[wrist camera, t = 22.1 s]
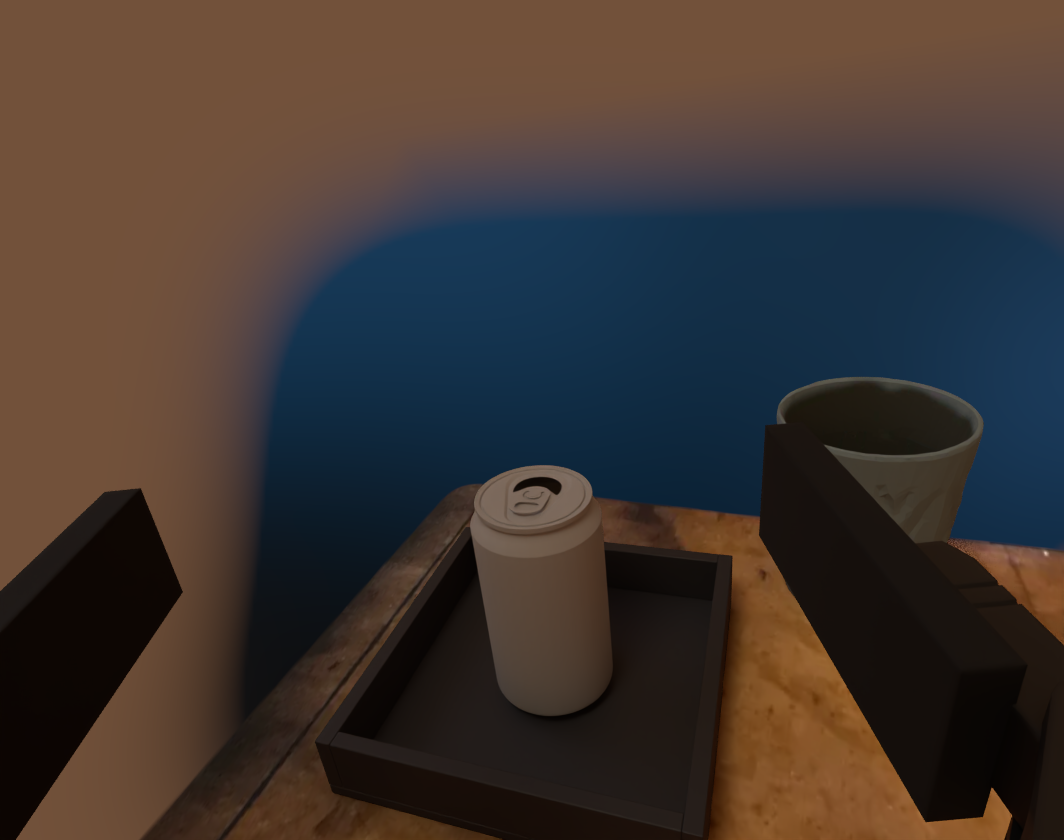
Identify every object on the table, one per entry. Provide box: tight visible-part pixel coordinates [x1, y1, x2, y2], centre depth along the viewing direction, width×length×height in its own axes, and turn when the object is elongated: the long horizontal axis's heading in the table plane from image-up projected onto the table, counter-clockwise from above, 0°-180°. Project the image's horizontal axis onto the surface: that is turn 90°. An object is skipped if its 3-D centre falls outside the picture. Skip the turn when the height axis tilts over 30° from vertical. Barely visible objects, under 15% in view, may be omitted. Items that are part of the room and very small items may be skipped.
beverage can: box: [470, 465, 613, 716], centre depth 34 cm, size 6×6×12 cm
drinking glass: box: [777, 377, 984, 594], centre depth 39 cm, size 10×10×12 cm
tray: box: [315, 527, 732, 840], centre depth 36 cm, size 18×18×4 cm
